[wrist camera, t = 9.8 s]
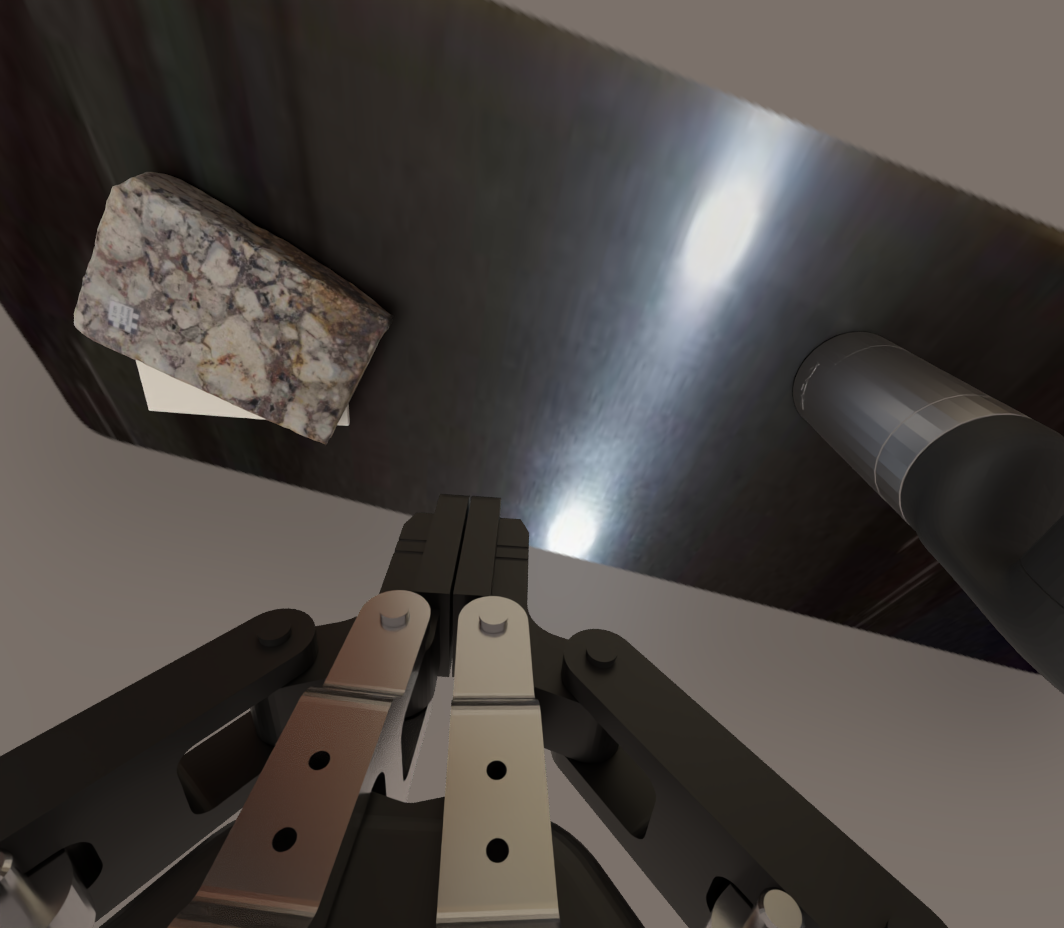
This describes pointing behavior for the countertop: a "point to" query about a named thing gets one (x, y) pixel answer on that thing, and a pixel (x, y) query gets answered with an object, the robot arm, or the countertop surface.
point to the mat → (191, 397)
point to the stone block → (226, 306)
